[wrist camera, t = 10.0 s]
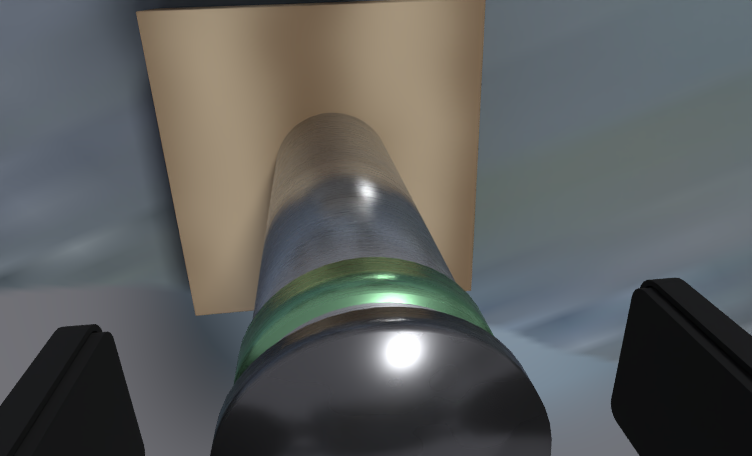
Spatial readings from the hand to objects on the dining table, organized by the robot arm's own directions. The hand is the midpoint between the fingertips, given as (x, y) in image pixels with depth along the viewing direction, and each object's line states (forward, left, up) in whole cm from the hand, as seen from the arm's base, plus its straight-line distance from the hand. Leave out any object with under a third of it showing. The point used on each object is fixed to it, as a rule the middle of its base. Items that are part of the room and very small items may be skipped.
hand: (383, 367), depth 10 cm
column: (0, 0, -12) cm, 12 cm away
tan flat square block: (+1, 0, -15) cm, 15 cm away
